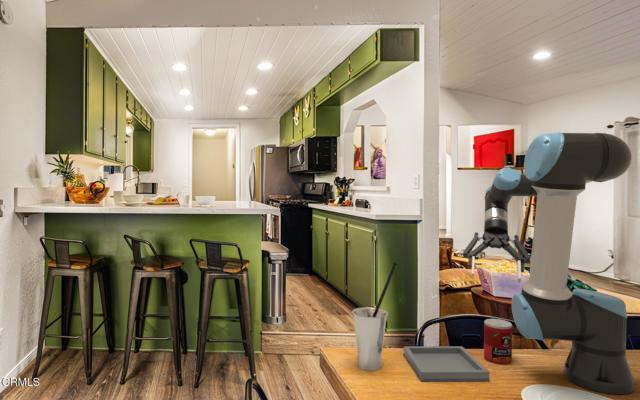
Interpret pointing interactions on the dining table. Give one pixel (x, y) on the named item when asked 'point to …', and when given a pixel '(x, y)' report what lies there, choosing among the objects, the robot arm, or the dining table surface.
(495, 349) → the canned food
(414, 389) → the dining table surface
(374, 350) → the glass
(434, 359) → the tray
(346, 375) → the dining table surface
